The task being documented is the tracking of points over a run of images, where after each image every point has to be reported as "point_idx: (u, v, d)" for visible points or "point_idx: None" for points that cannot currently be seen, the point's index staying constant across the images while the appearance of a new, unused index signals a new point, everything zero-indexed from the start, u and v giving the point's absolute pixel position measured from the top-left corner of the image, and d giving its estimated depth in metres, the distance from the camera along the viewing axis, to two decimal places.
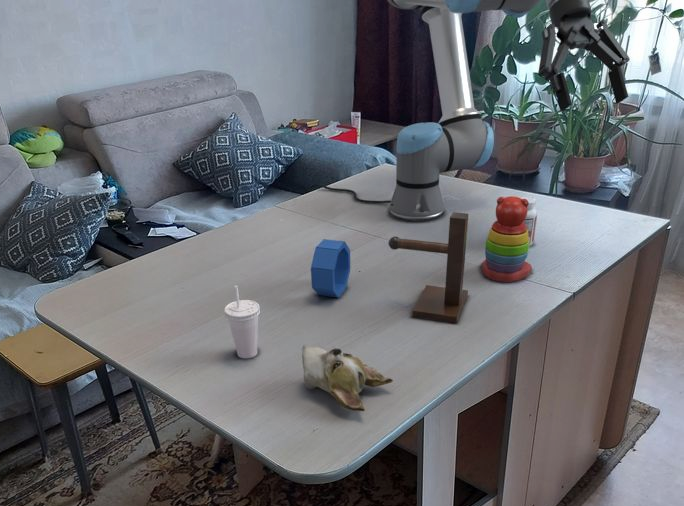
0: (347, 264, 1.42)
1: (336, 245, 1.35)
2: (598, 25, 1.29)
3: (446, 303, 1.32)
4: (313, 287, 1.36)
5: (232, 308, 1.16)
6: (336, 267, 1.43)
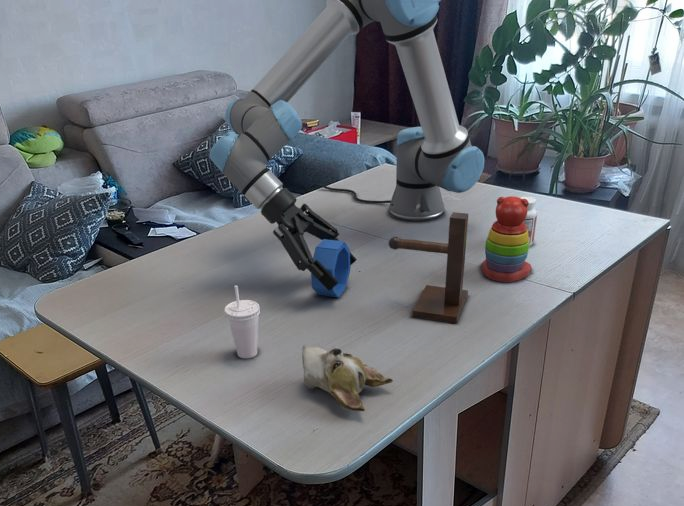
0: (347, 264, 1.42)
1: (336, 245, 1.35)
2: None
3: (446, 303, 1.32)
4: (313, 287, 1.36)
5: (232, 308, 1.16)
6: (336, 267, 1.43)
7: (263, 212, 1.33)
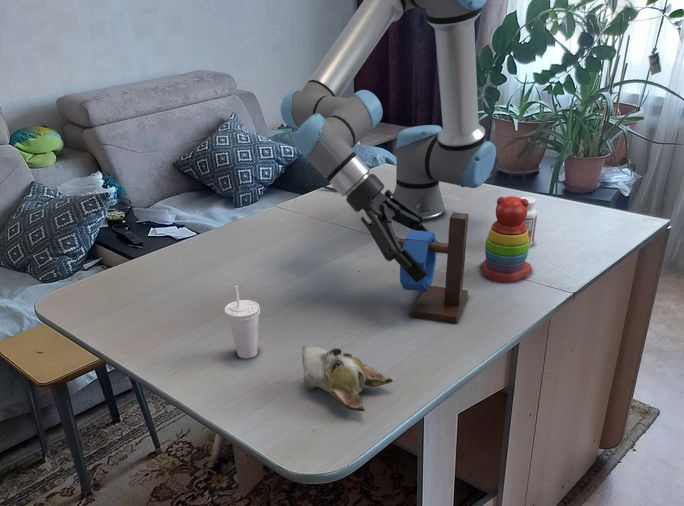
0: (433, 256, 1.34)
1: (426, 236, 1.27)
2: None
3: (446, 303, 1.32)
4: (401, 281, 1.28)
5: (232, 308, 1.16)
6: None
7: (350, 199, 1.25)
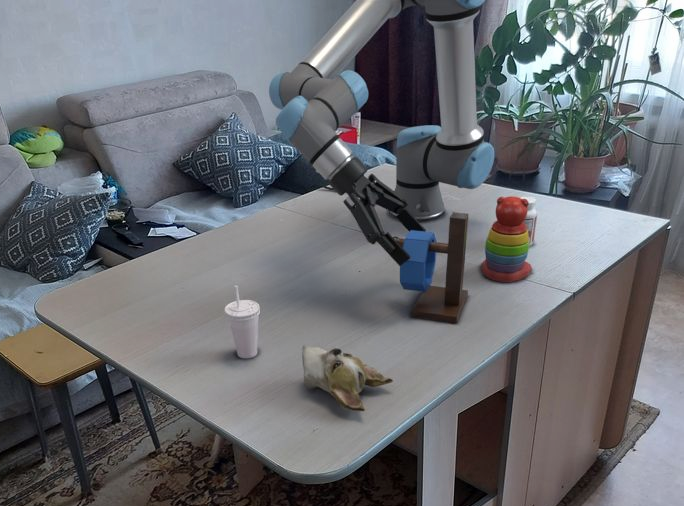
0: (433, 257, 1.34)
1: (426, 236, 1.27)
2: None
3: (446, 303, 1.32)
4: (401, 281, 1.28)
5: (232, 308, 1.16)
6: None
7: (333, 182, 1.25)
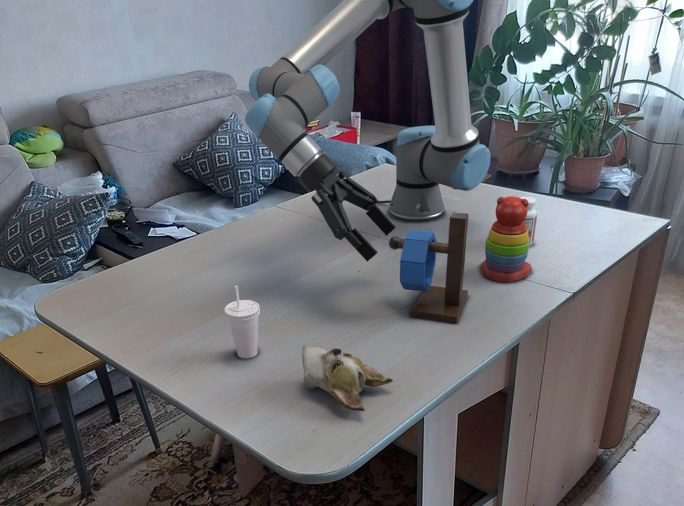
0: (433, 256, 1.34)
1: (426, 236, 1.27)
2: None
3: (446, 303, 1.32)
4: (401, 281, 1.28)
5: (232, 308, 1.16)
6: None
7: (301, 179, 1.27)
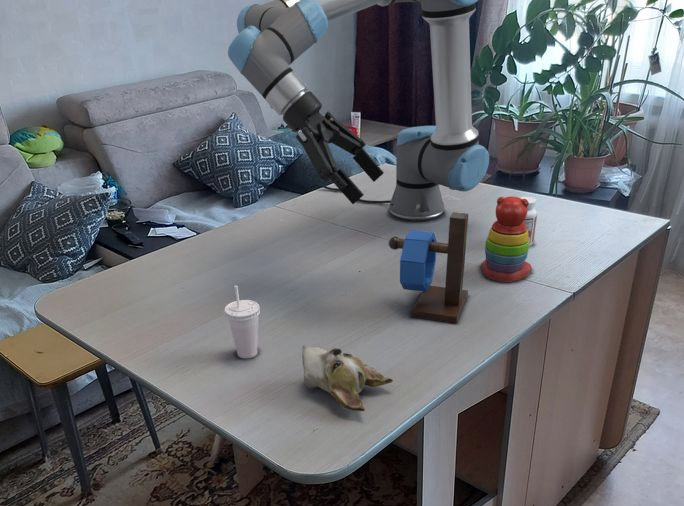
0: (433, 256, 1.34)
1: (426, 236, 1.27)
2: None
3: (446, 303, 1.32)
4: (401, 281, 1.28)
5: (232, 308, 1.16)
6: None
7: (286, 117, 1.22)
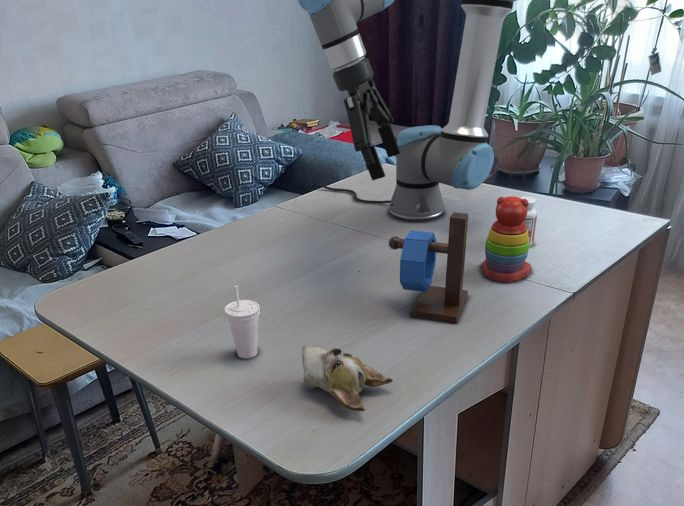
0: (433, 257, 1.34)
1: (426, 236, 1.27)
2: None
3: (446, 303, 1.32)
4: (401, 281, 1.28)
5: (232, 308, 1.16)
6: None
7: (338, 76, 1.24)
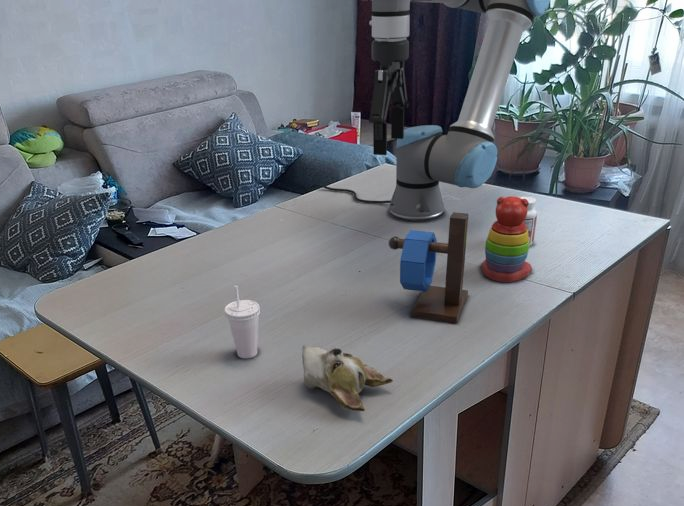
0: (433, 256, 1.34)
1: (426, 236, 1.27)
2: None
3: (446, 303, 1.32)
4: (401, 281, 1.28)
5: (232, 308, 1.16)
6: None
7: (377, 46, 1.28)
